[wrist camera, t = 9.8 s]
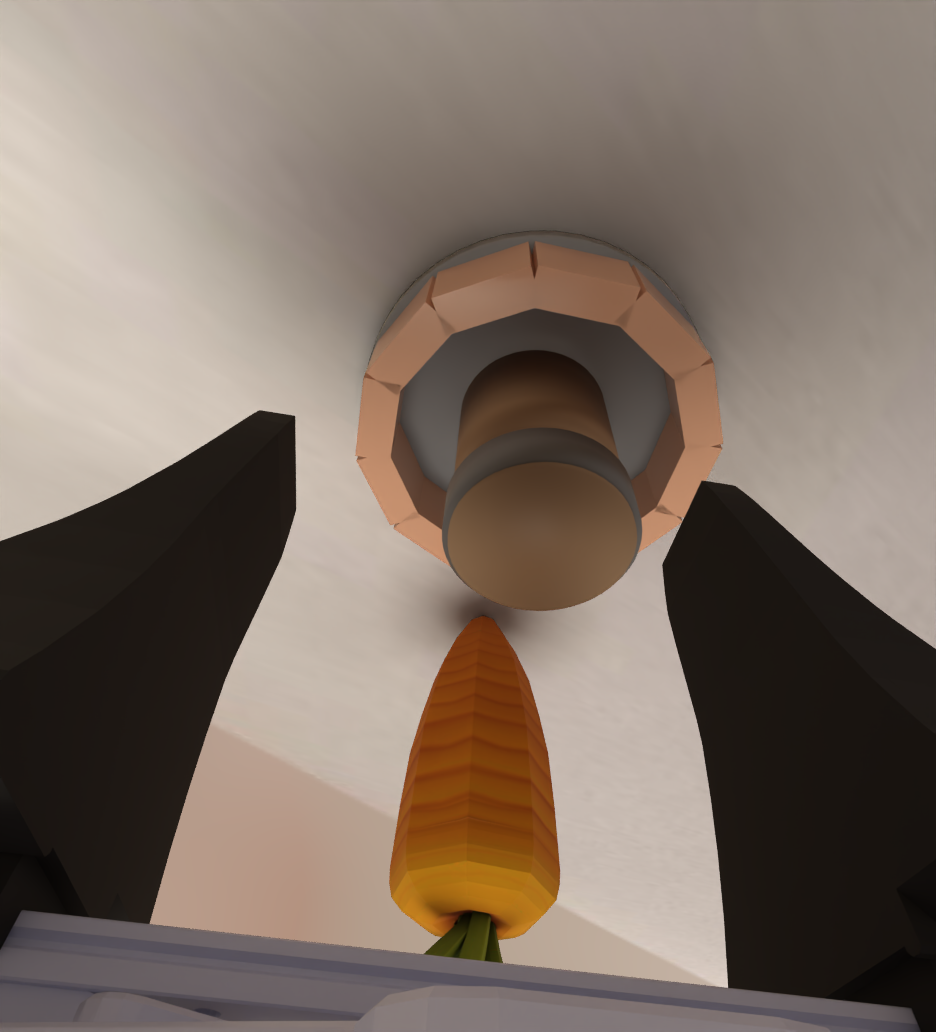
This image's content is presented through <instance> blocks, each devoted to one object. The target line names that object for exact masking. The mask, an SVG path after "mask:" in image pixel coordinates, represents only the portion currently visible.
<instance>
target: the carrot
mask: <svg viewBox="0 0 936 1032" xmlns="http://www.w3.org/2000/svg"><path fill="white" fill-rule="evenodd" d="M389 883H390V890H391V897H392V899H393V900H394V901H395V903H396V904H397V905H398V907H399V908H400V909H401V911H402V912H403V913H405V914H406V915H407V916H409V917H410V918H411V919H413V920H414V921H415V922H417V923H418V924H419V925H420V926H422V927H423V928H424V929H426V930H427V931H428V932H430V933H431V934H433V935H435V936H439V937H442V938H440V939H439V940H438V941H437V942H436V943H435V944H434V945H433V946H432V947H431V948H430V949H429V950H428V951H426V953H424V954H425V955H434V956H443V957H452V958H461V959H470V960H479V961H488V962H497V963H503V961H502V957H501V954H500V948H499V943H498V940H502V939H509V938H515V937H518V936H520V935H522V934H524V933H525V932H526V931H527V930H528V929H530V928H531V926H532V925H534V924H535V923H536V922H537V921H538V920H539V919H540V918H541V916H543V915H544V914H545V913H546V912H547V910H548V909H549V908H550V907H551V906H552V905H553V903H554V902H555V901H556V899H557V895H558V890H559V885H560V865H559V853H558V842H557V831H556V819H555V808H554V799H553V791H552V783H551V774H550V766H549V757H548V751H547V747H546V743H545V739H544V734H543V730H542V726H541V722H540V718H539V714H538V710H537V707H536V703H535V700H534V696H533V693H532V690H531V686H530V683H529V680H528V678H527V676H526V674H525V671H524V669H523V667H522V665H521V663H520V661H519V659H518V657H517V655H516V653H515V651H514V650H513V648H512V647H511V645H510V644H509V642H508V641H507V639H506V638H505V636H504V635H503V633H502V632H501V630H500V629H499V627H498V626H497V624H496V623H495V621H494V620H493V619H491V618H489V617H486V616H481V617H478V618H475V619H473V620H471V621H470V623H469V624H468V625H467V626H466V627H465V629H464V630H463V631H462V632H461V633H460V635H459V636H458V637H457V638H456V640H455V642H454V644H453V645H452V647H451V649H450V651H449V652H448V654H447V656H446V658H445V659H444V662H443V664H442V666H441V668H440V670H439V672H438V674H437V676H436V678H435V680H434V683H433V686H432V688H431V691H430V694H429V697H428V700H427V702H426V705H425V708H424V711H423V714H422V716H421V720H420V723H419V726H418V729H417V733H416V736H415V739H414V742H413V746H412V749H411V752H410V756H409V762H408V767H407V772H406V777H405V783H404V788H403V793H402V798H401V803H400V809H399V815H398V821H397V828H396V834H395V840H394V846H393V853H392V859H391V865H390V880H389Z"/></svg>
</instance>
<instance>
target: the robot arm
mask: <svg viewBox="0 0 936 1032" xmlns="http://www.w3.org/2000/svg"><path fill="white" fill-rule="evenodd" d="M295 512H296V451H295V416H292V415H286V414H280V413H273V412H267V411H261V410H259V411H257V412H256V413H254V414H252V415H250V416H249V417H247V418H246V419H244V420H243V421H241V422H239V423H238V424H236V425H235V426H233V427H232V428H230V429H229V430H227V431H226V432H224V433H222V434H221V435H219V436H218V437H216V438H215V439H213V440H212V441H210V442H208V443H207V444H205V445H204V446H202V447H200V448H199V449H197V450H196V451H194V452H192V453H191V454H189V455H188V456H186V457H184V458H183V459H181V460H179V461H178V462H176V463H174V464H172V465H170V466H169V467H167V468H165V469H163V470H161V471H160V472H158V473H156V474H154V475H152V476H151V477H149V478H147V479H145V480H143V481H141V482H140V483H138V484H136V485H134V486H132V487H131V488H129V489H127V490H125V491H123V492H121V493H119V494H117V495H115V496H113V497H110V498H108V499H106V500H104V501H102V502H100V503H98V504H95V505H93V506H91V507H88V508H86V509H84V510H81V511H79V512H77V513H75V514H72V515H70V516H68V517H65V518H63V519H60V520H58V521H55V522H53V523H50V524H47V525H44V526H41V527H39V528H36V529H33V530H30V531H27V532H25V533H22V534H19V535H16V536H13V537H11V538H8V539H5V540H2V541H0V1032H936V649H935V648H933V647H932V646H930V645H929V644H928V643H926V642H925V641H923V640H922V639H921V638H919V637H918V636H916V635H915V634H913V633H912V632H911V631H909V630H908V629H906V628H905V627H904V626H902V625H901V624H899V623H898V622H896V621H895V620H894V619H892V618H891V617H890V616H888V615H887V614H886V613H884V612H883V611H882V610H880V609H879V608H878V607H876V606H875V605H874V604H873V603H871V602H870V601H869V600H868V599H866V598H865V597H864V596H863V595H862V594H860V593H859V592H858V591H857V590H855V589H854V588H853V587H852V586H850V585H849V584H848V583H847V582H845V581H844V580H843V579H842V578H841V577H839V576H838V575H837V574H836V573H835V572H834V571H832V570H831V569H830V568H829V567H828V566H827V565H825V564H824V563H823V562H822V561H821V560H820V559H819V558H817V557H816V556H815V555H814V554H813V553H812V552H811V551H810V550H808V549H807V548H806V547H805V546H804V545H803V544H802V543H801V542H800V541H798V540H797V539H796V538H795V537H794V536H793V535H792V534H791V533H790V532H788V531H787V530H786V529H785V528H784V527H783V526H782V525H781V524H780V523H779V522H777V521H776V520H775V519H774V518H773V517H772V516H771V515H770V514H769V513H767V512H766V511H765V510H764V509H763V508H762V507H761V506H760V505H758V504H757V503H756V502H755V501H754V500H753V499H751V498H750V497H749V496H748V495H747V494H745V493H744V492H743V491H741V490H740V489H739V488H737V487H736V486H733V485H727V484H721V483H714V482H708V481H701V483H700V485H699V487H698V489H697V492H696V494H695V496H694V498H693V500H692V502H691V504H690V506H689V509H688V511H687V513H686V515H685V517H684V519H683V521H682V524H681V526H680V528H679V530H678V532H677V534H676V536H675V539H674V541H673V543H672V545H671V547H670V549H669V551H668V554H667V556H666V558H665V560H664V562H663V564H662V566H663V577H664V587H665V596H666V603H667V611H668V616H669V620H670V624H671V628H672V631H673V635H674V639H675V643H676V646H677V650H678V654H679V657H680V661H681V665H682V668H683V672H684V675H685V679H686V683H687V686H688V690H689V694H690V697H691V701H692V704H693V708H694V712H695V715H696V719H697V723H698V727H699V732H700V736H701V741H702V745H703V751H704V758H705V764H706V770H707V777H708V783H709V789H710V796H711V803H712V811H713V819H714V827H715V835H716V843H717V850H718V860H719V871H720V881H721V892H722V902H723V913H724V926H725V942H726V958H727V974H728V988H724V987H715V986H706V985H697V984H687V983H678V982H669V981H659V980H651V979H642V978H633V977H624V976H614V975H605V974H597V973H587V972H579V971H570V970H561V969H552V968H542V967H533V966H524V965H514V964H506V963H497V962H488V961H479V960H470V959H461V958H452V957H443V956H434V955H425V954H415V953H406V952H397V951H388V950H379V949H370V948H361V947H352V946H342V945H334V944H325V943H316V942H307V941H298V940H289V939H280V938H270V937H261V936H252V935H242V934H234V933H225V932H216V931H206V930H198V929H189V928H180V927H171V926H162V925H153V924H149V923H150V920H151V916H152V912H153V909H154V905H155V902H156V898H157V895H158V891H159V888H160V884H161V880H162V877H163V873H164V870H165V866H166V863H167V859H168V856H169V852H170V849H171V845H172V842H173V839H174V836H175V832H176V829H177V826H178V823H179V819H180V816H181V813H182V809H183V806H184V803H185V799H186V796H187V793H188V790H189V786H190V783H191V780H192V777H193V774H194V771H195V768H196V765H197V762H198V758H199V755H200V752H201V749H202V746H203V743H204V740H205V736H206V734H207V731H208V728H209V725H210V722H211V719H212V716H213V713H214V711H215V708H216V705H217V702H218V699H219V696H220V693H221V690H222V687H223V684H224V682H225V679H226V677H227V674H228V672H229V669H230V667H231V665H232V662H233V660H234V657H235V655H236V653H237V651H238V649H239V647H240V645H241V643H242V640H243V638H244V636H245V634H246V632H247V630H248V628H249V626H250V624H251V621H252V619H253V617H254V615H255V613H256V611H257V609H258V607H259V604H260V602H261V600H262V598H263V596H264V594H265V592H266V590H267V587H268V585H269V583H270V581H271V579H272V577H273V575H274V572H275V570H276V568H277V566H278V564H279V561H280V559H281V557H282V554H283V551H284V548H285V545H286V542H287V539H288V535H289V532H290V529H291V525H292V522H293V519H294V515H295Z"/></svg>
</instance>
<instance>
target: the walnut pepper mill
mask: <svg viewBox="0 0 936 1032" xmlns="http://www.w3.org/2000/svg"><path fill="white" fill-rule="evenodd" d="M641 540H642V520H641V516H640V512H639V509H638V505H637V501H636V497H635V494H634V490H633V486H632V483H631V479H630V477H629V475H628V473H627V470H626V469H625V467H624V466H623V464H622V463H621V461H620V460H619V457H618V453H617V449H616V445H615V441H614V437H613V433H612V429H611V425H610V421H609V418H608V414H607V410H606V406H605V402H604V398H603V394H602V391H601V389H600V387H599V385H598V383H597V381H596V380H595V378H594V377H593V376H592V375H591V373H590V372H589V371H588V370H587V369H586V368H585V367H583V366H582V365H581V364H580V363H578V362H576V361H575V360H573V359H571V358H569V357H567V356H565V355H562V354H559V353H556V352H551V351H545V350H527V351H520V352H515V353H512V354H509V355H506V356H504V357H501V358H499V359H497V360H495V361H494V362H492V363H491V364H489V365H488V366H486V367H485V368H484V369H483V370H482V371H481V372H480V373H479V374H478V375H477V376H476V377H475V378H474V379H473V381H472V382H471V384H470V385H469V387H468V389H467V391H466V393H465V396H464V399H463V402H462V408H461V416H460V425H459V434H458V444H457V453H456V463H455V472H454V475H453V476H452V478H451V480H450V483H449V486H448V489H447V494H446V500H445V508H444V517H443V525H442V543H443V549H444V552H445V555H446V558H447V560H448V562H449V564H450V566H451V568H452V569H453V571H454V572H455V573H456V575H457V576H458V577H459V578H460V579H461V580H462V581H463V582H464V583H465V584H466V585H467V586H469V587H470V588H471V589H472V590H474V591H476V592H477V593H478V594H480V595H482V596H483V597H485V598H487V599H489V600H491V601H493V602H495V603H498V604H501V605H504V606H507V607H512V608H516V609H522V610H533V611H546V610H556V609H563V608H567V607H572V606H575V605H578V604H581V603H584V602H586V601H588V600H591V599H593V598H595V597H596V596H598V595H600V594H602V593H603V592H604V591H606V590H607V589H609V588H610V587H611V586H612V585H613V584H615V583H616V582H617V581H618V580H619V579H620V578H621V577H622V576H623V575H624V574H625V573H626V572H627V570H628V569H629V568H630V566H631V565H632V563H633V562H634V560H635V558H636V556H637V553H638V551H639V548H640V544H641Z"/></svg>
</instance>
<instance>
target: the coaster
mask: <svg viewBox="0 0 936 1032" xmlns="http://www.w3.org/2000/svg"><path fill="white" fill-rule="evenodd" d="M527 350H545V351H551V352H556V353H559V354H562V355H565V356H567V357H569V358H571V359H573V360H575V361H576V362H578V363H580V364H581V365H582V366H583V367H585V368H586V369H587V370H588V371H589V372H590V373H591V375H592V376H593V377H594V378H595V380H596V381H597V383H598V385H599V387H600V389H601V391H602V394H603V398H604V402H605V406H606V410H607V414H608V418H609V421H610V425H611V429H612V433H613V437H614V441H615V445H616V449H617V453H618V457H619V460H620V461H621V463H622V464H623V466H624V467H625V469H626V470H627V473H628V475H629V477H630V479H631V483H632V486H633V490H634V494H635V497H636V501H637V505H638V509H639V512H640V516H641V520H642V540H641V544H640V548H639V551H638V553H639V552H640V551H641V550H643V549H644V548H646V547H647V546H649V545H650V544H651V543H653V542H654V541H656V540H657V539H659V538H660V537H662V536H663V535H664V534H666V533H667V532H669V531H670V530H672V529H673V528H674V527H676V526H677V525H679V524H680V523H682V519H681V517H685V515H686V513H687V511H688V509H689V506H690V504H691V502H692V500H693V498H694V496H695V494H696V492H697V489H698V487H699V485H700V483H701V481H706V479H707V477H708V475H709V473H710V471H711V469H712V467H713V465H714V464H715V462H716V460H717V458H718V456H719V454H720V452H721V450H722V447H721V445H720V444H723V437H722V429H721V420H720V412H719V404H718V395H717V387H716V379H715V370H714V363H713V361H712V359H711V356H710V355H709V353H708V351H707V350H706V348H705V346H704V345H703V343H702V341H701V339H700V338H699V335H698V333H697V330H696V328H695V326H694V324H693V323H692V321H691V319H690V317H689V316H688V314H687V312H686V310H685V309H684V307H683V305H682V304H681V302H680V300H679V299H678V297H677V296H676V295H675V294H674V292H673V291H672V290H671V289H670V288H669V286H668V285H667V284H666V283H665V281H664V280H663V279H661V278H660V277H659V276H658V275H657V274H656V273H655V272H654V271H653V270H652V269H650V268H649V267H648V266H647V265H646V264H644V263H643V262H641V261H640V260H638V259H637V258H635V257H634V256H632V255H630V254H629V253H627V252H625V251H623V250H621V249H619V248H617V247H615V246H612V245H610V244H608V243H606V242H603V241H600V240H596V239H593V238H590V237H586V236H583V235H578V234H572V233H565V232H558V231H527V232H519V233H511V234H504V235H501V236H497V237H493V238H490V239H486V240H482V241H479V242H477V243H475V244H472V245H470V246H468V247H465V248H463V249H460V250H458V251H456V252H455V253H453V254H451V255H450V256H448V257H446V258H445V259H443V260H441V261H439V262H438V263H436V264H435V265H434V266H433V267H431V268H430V269H429V270H428V271H426V272H425V273H424V274H423V275H421V276H420V277H419V278H418V279H417V280H416V281H415V282H414V283H413V284H412V285H411V286H410V287H409V288H408V289H407V290H406V291H405V292H404V293H403V295H402V296H401V297H400V299H399V300H398V301H397V303H396V304H395V306H394V307H393V309H392V310H391V311H390V313H389V315H388V317H387V319H386V320H385V322H384V324H383V326H382V328H381V330H380V332H379V335H378V337H377V340H376V342H375V345H374V348H373V351H372V354H371V357H370V360H369V363H368V368H367V370H366V373H365V375H364V379H363V388H362V398H361V407H360V417H359V427H358V436H357V446H356V455H355V456H358V458H357V463H358V465H359V466H360V468H361V470H362V472H363V474H364V476H365V478H366V480H367V482H368V484H369V485H370V487H371V489H372V491H373V493H374V495H375V497H376V499H377V501H378V503H379V504H380V506H381V508H382V510H383V512H384V514H385V516H386V518H387V520H388V522H389V524H390V525H393V524H395V525H394V529H395V530H396V531H398V532H399V533H401V534H402V535H404V536H405V537H407V538H408V539H410V540H411V541H413V542H414V543H416V544H417V545H419V546H420V547H422V548H423V549H425V550H426V551H428V552H429V553H431V554H432V555H434V556H435V557H437V558H438V559H440V560H441V561H443V562H444V563H446V564H447V565H449V566H450V564H449V562H448V560H447V558H446V555H445V552H444V549H443V543H442V525H443V517H444V508H445V500H446V494H447V489H448V486H449V483H450V480H451V478H452V476H453V475H454V472H455V463H456V453H457V444H458V434H459V425H460V416H461V408H462V402H463V399H464V396H465V393H466V391H467V389H468V387H469V385H470V384H471V382H472V381H473V379H474V378H475V377H476V376H477V375H478V374H479V373H480V372H481V371H482V370H483V369H484V368H485V367H486V366H488V365H489V364H491V363H492V362H494V361H495V360H497V359H499V358H501V357H504V356H506V355H509V354H512V353H515V352H520V351H527ZM450 567H451V566H450Z"/></svg>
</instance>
